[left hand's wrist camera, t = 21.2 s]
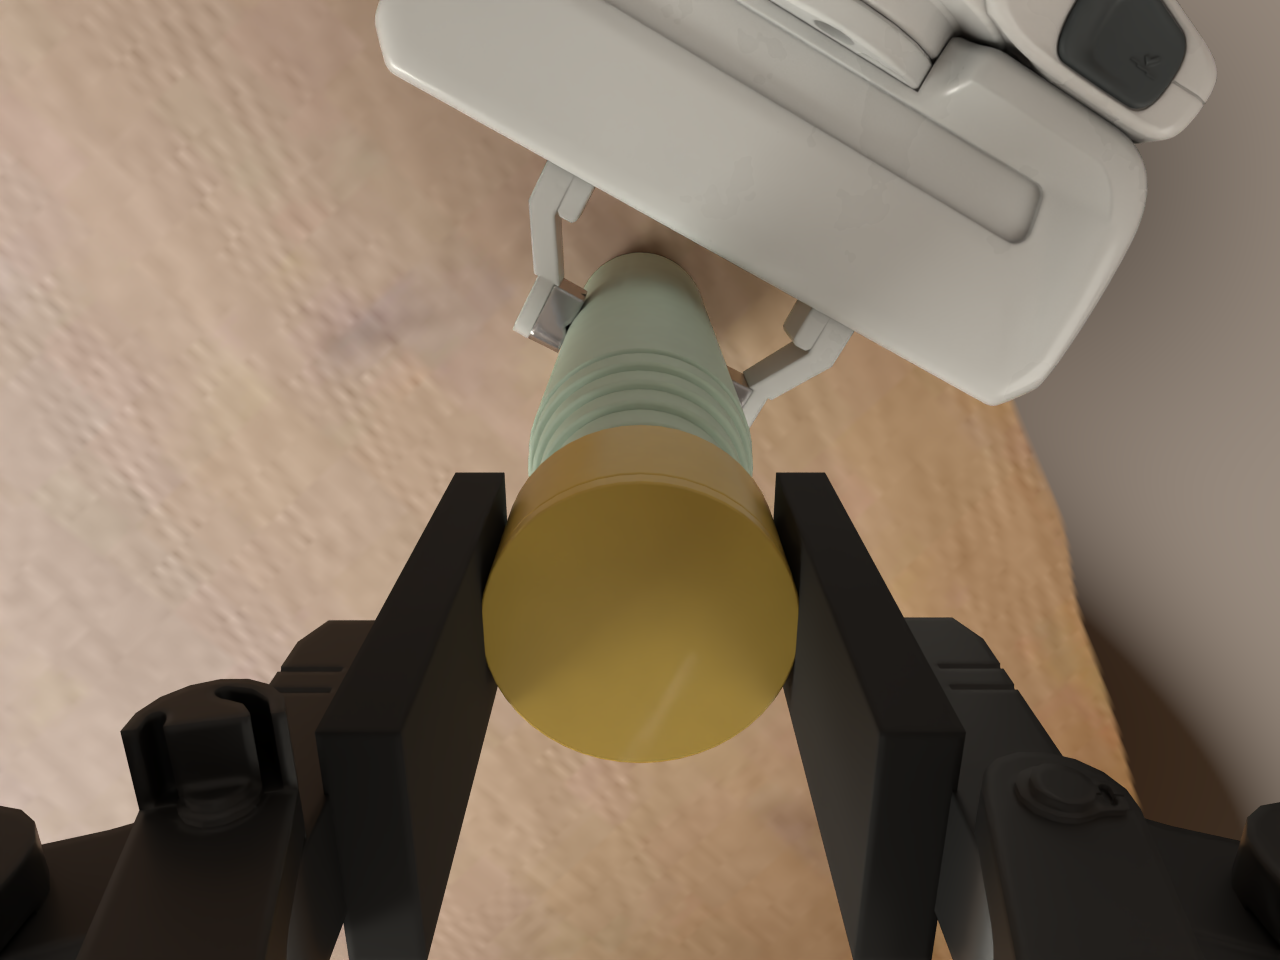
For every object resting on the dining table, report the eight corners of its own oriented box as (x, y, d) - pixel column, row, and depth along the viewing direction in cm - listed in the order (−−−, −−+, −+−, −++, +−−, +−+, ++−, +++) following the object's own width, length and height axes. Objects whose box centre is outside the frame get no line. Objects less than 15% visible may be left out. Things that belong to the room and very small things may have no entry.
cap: (571, 703, 15) (559, 801, 13) (458, 483, 14) (423, 551, 12) (812, 618, 15) (842, 706, 13) (720, 380, 13) (736, 431, 11)
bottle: (726, 337, 33) (859, 654, 13) (620, 400, 34) (590, 788, 14) (662, 227, 32) (700, 389, 12) (553, 295, 33) (411, 556, 13)
